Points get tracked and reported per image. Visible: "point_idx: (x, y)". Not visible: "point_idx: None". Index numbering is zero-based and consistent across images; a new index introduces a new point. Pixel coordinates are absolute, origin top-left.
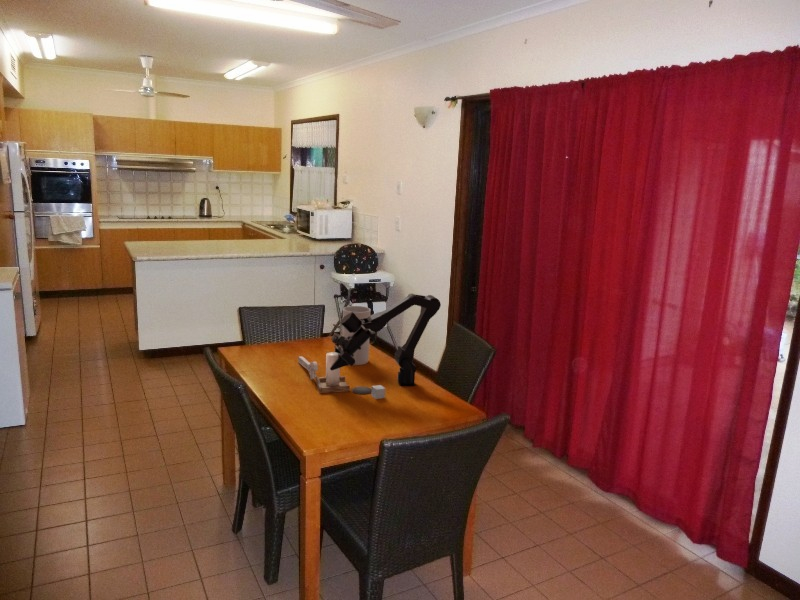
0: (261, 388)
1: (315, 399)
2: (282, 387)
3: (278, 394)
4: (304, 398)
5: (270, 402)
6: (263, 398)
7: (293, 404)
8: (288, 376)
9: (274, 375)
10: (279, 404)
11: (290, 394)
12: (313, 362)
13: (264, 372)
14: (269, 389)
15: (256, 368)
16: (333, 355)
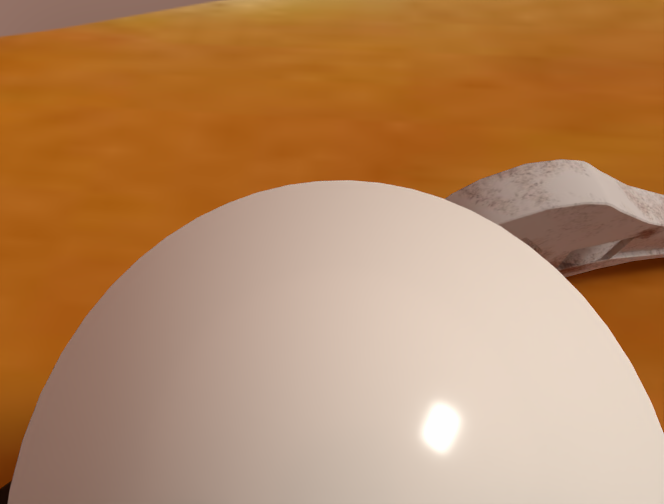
0: (335, 10)
1: (58, 266)
2: (342, 92)
3: (227, 70)
4: (109, 195)
5: (114, 35)
6: (184, 12)
7: (29, 129)
8: (551, 131)
9: (554, 67)
10: (65, 67)
11: (211, 124)
12: (544, 170)
13: (594, 29)
14: (316, 38)
15: (649, 3)
16: (186, 436)
